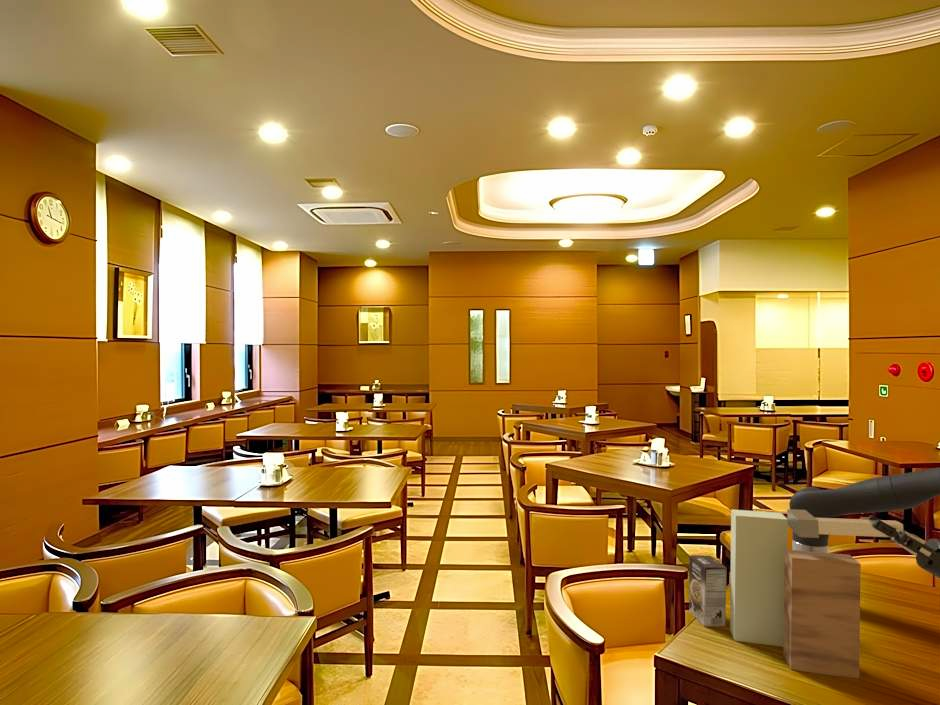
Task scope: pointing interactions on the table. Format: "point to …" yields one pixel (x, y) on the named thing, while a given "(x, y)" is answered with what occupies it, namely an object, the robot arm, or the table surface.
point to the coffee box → (707, 590)
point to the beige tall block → (757, 576)
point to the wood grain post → (822, 613)
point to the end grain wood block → (833, 525)
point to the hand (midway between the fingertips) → (872, 521)
